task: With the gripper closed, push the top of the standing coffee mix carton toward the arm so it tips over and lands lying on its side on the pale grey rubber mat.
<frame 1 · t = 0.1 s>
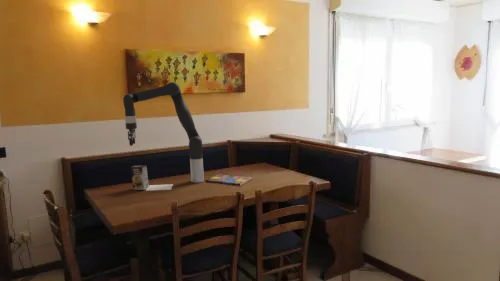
hand: (132, 144, 281), 29 cm above the table, tool pointing down, fingers open, 8 cm apart
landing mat: (159, 187, 274), on the table
coffee box: (141, 188, 272), on the table, touching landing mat
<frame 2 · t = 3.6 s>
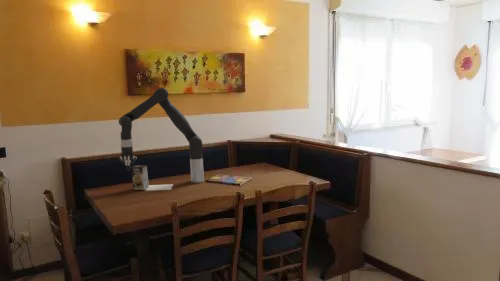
hand: (128, 170, 269), 13 cm above the table, tool pointing down, fingers closed
coffee box: (141, 188, 272), on the table, touching gripper, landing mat
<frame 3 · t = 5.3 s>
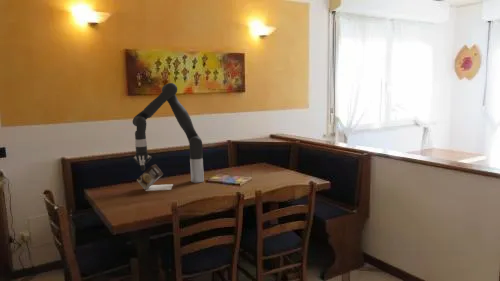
hand: (143, 170, 270), 13 cm above the table, tool pointing down, fingers closed
coffee box: (142, 183, 271), point 4 cm above the table, touching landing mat
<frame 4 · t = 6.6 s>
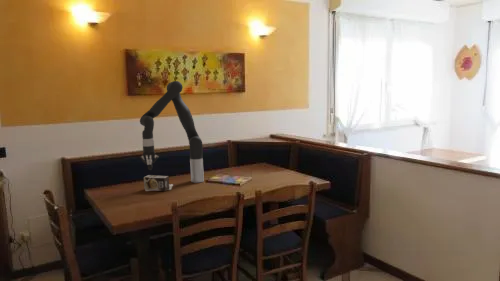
hand: (150, 169, 270), 13 cm above the table, tool pointing down, fingers closed
coffee box: (146, 182, 270), point 5 cm above the table, touching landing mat
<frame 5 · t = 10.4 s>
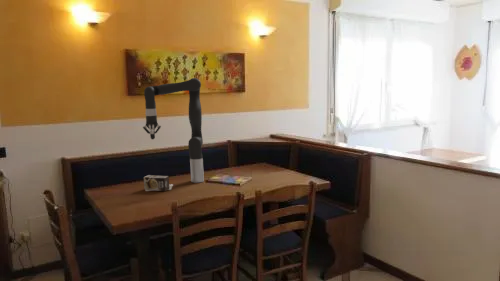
hand: (152, 139, 279), 33 cm above the table, tool pointing down, fingers closed
nothing on the table moved.
at the end: coffee box tilted 89°; coffee box inside the target area (2.1 cm from its centre), point 4.9 cm above the table; coffee box touching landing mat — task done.
